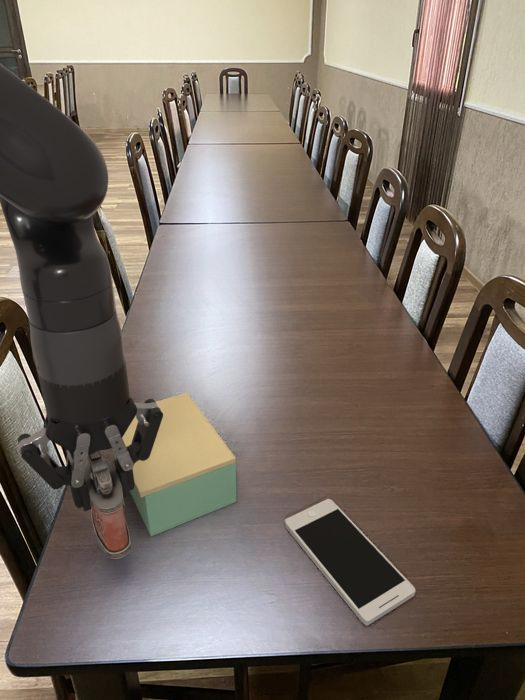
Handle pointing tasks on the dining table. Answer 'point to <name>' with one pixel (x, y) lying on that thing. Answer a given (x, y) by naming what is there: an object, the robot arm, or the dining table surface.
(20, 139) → the robot arm
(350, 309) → the dining table surface
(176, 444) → the lunchbox lid
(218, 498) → the box
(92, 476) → the lighter
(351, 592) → the smartphone
